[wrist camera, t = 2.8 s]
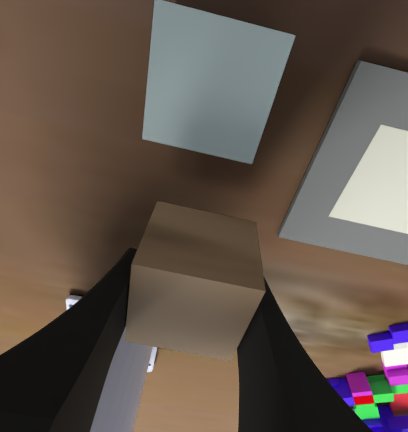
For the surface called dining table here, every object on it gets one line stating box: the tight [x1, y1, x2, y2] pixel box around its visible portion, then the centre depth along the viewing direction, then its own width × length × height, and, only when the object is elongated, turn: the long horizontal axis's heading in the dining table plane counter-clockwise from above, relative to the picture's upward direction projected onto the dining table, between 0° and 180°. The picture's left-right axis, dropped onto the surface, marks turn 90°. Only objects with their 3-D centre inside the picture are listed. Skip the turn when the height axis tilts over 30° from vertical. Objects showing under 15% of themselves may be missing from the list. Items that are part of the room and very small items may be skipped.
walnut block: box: [125, 201, 266, 361], centre depth 12 cm, size 4×4×4 cm
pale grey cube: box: [142, 0, 296, 164], centre depth 12 cm, size 4×4×4 cm
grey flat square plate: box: [277, 60, 408, 265], centre depth 15 cm, size 10×10×1 cm
